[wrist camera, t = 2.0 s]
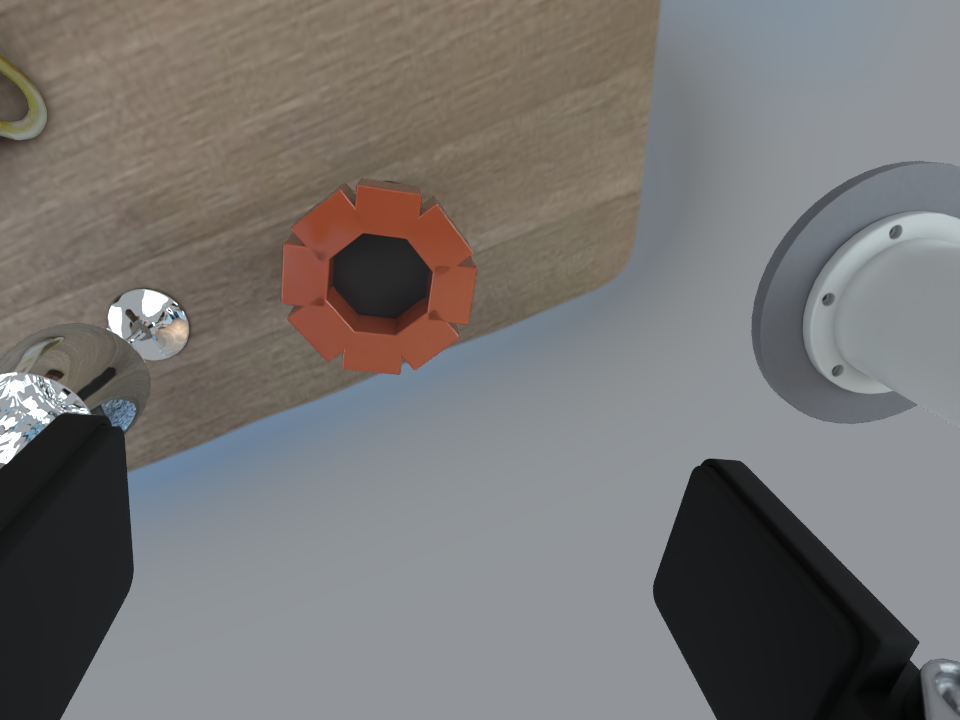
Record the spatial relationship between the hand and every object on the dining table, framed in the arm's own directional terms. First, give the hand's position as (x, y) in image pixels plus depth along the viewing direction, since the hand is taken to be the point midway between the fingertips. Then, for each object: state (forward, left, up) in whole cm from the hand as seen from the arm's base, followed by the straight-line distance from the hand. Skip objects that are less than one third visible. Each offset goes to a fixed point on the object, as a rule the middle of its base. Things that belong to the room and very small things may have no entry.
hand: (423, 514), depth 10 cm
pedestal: (+1, 0, -27) cm, 27 cm away
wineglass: (+14, +8, -27) cm, 31 cm away
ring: (+1, 0, -15) cm, 15 cm away
